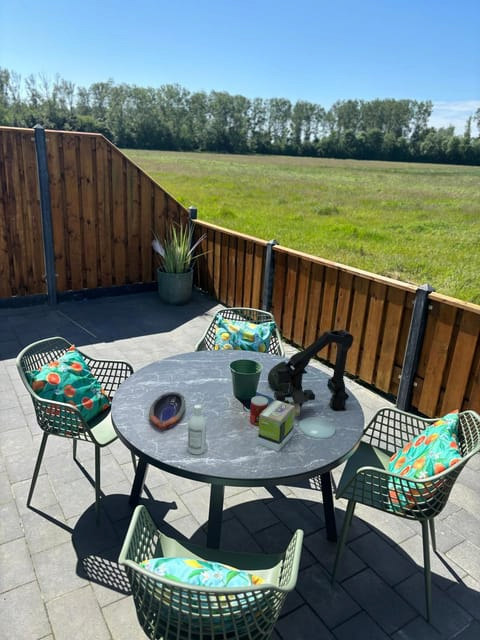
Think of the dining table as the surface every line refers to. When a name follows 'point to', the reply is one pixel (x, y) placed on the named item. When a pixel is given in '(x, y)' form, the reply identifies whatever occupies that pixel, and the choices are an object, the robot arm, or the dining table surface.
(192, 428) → the bath foam
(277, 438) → the tea box
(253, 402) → the canned food
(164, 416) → the dish
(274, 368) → the squash
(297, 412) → the beech cube
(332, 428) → the ceramic plate
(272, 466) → the dining table surface
